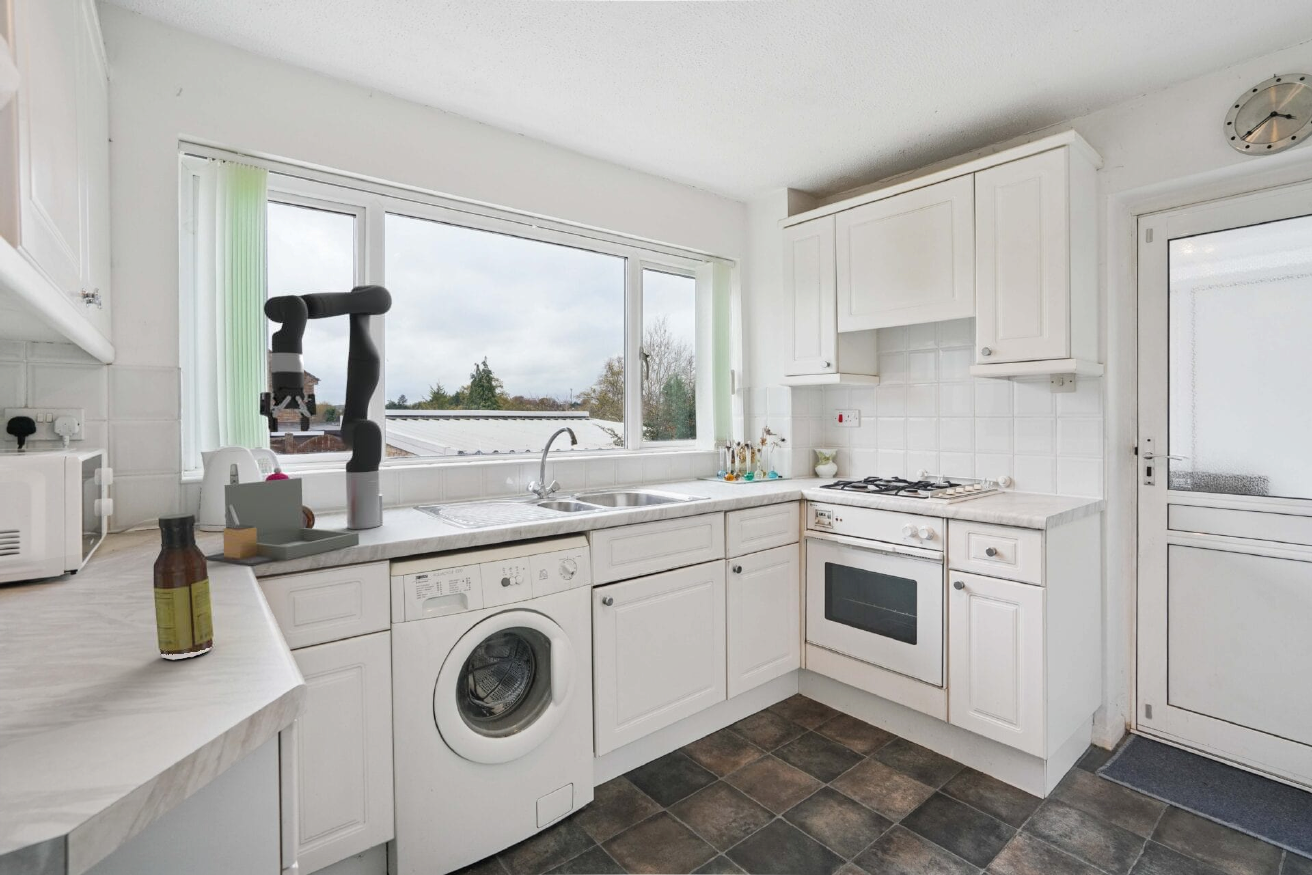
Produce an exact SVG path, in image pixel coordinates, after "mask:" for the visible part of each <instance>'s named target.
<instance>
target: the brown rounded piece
mask: <svg viewBox="0 0 1312 875" xmlns="http://www.w3.org/2000/svg"><path fill="white" fill-rule="evenodd" d="M302 507H303V528H311V529H314V526H315V523H316V517H315V515H314V512H313V511H312V510H311V509H310V508H309V507H308V506H306V505H302Z"/></svg>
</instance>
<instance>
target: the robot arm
mask: <svg viewBox="0 0 1312 875" xmlns="http://www.w3.org/2000/svg"><path fill="white" fill-rule="evenodd" d="M392 305H393V299H392V295H391V292H390V291H389V290H388V289H387V288H386V287H385V286H383V285H379V284H367V285H365V284H364V285H362V284H361V285H357V286H354V287H353V288H352V289H351V291H348V292H347V291H346V292H345V291H343V292H342V291H341V292H336V291H335V292H333V291H332V292H330V291H328V292H315V293H313V292H312V293H307V294H303V295H302V294H301V295H294V294H291V295H290V294H288V295H279V296H272V297H270V298H269V299H267V300H266V301H265V303H264V305H263V311H264V312H263V313H264V315H265V316H266V318H268V320H270V321H272V322H274V323H277V324H281V328H280V329H279V330H278V331H274V332H273V333H272V335H271V353H272V354H271V362H270V364H271V365H270V366H271V367H270V370H271V373H270V374H271V388H272V392H269V391H263V392H260V396H259V414H260V416H264V417H267V428H268V430H269V431H270V433H278V432H279V421H278V420H279V418H277V417H278V416H279V414H280V412H282V411H283V410H294V411H295V412H296V413H298V414H299V416H300V418H299V420H300V432H309V430H310V428H311V427H310V419H311V417H312V416H316V415H317V405H316V404H317V402H316V394H315V393H304V389H305V364H304V363H305V362H304V357H303V356H304V355H303V337H304V334H305V330H306V326H307V322H308V320H321V319H326V318H332V317H340V316H345V315H349V316H348V317H349V343H348V357H347V369H346V385H345V387H346V388H345V402H344V408H343V413H342V419H341V423H340V424H341V425H340V433H339V434H340V440H341V442H342V444H343V445H344V446H345V447H347V448H348V449H351V450H352V454H351V458H350V460H349V461H347V462H346V464H345V481H346V482H345V483H346V484H345V486H346V488H345V489H346V490H345V492H346V523H347V525H346V526H347V529H352V530H354V529H355V530H358V529H372V528H376V527H380V526H383V525H384V522H383V520H384V519H383V517H384V516H383V515H384V514H383V494H380V471H379V470H380V464H381V461H382V452H383V451H382V448H383V446H382V445H383V439H382V438H383V436H382V430H381V427H380V426H379V424H378V423H377V422H376V421H374V420H372V419H368V414H369V412H368V410H369V405H370V403H371V402H370V401H371V399H372V397H373V394H374V392H375V391H376V388H377V386H378V384H379V380H380V373H381V363H382V362H381V354H380V352H379V350H378V348H377V345H376V343H375V342H374V339H373V337H372V334H371V329H370V326H371V317H372V316H379V315H380V316H381V315H384V314H387V312H389V311H390V310H391V308H392ZM272 400H273V401H274V402H273V403H272V402H271V401H272ZM304 401H305V403H304ZM271 404H272V405H271Z"/></svg>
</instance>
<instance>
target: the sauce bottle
mask: <svg viewBox="0 0 1312 875" xmlns="http://www.w3.org/2000/svg"><path fill="white" fill-rule="evenodd" d="M196 521H197V520H196V516H195V514H194V513H187V512H185V513H174V514H167V515H163V516H160V517H158V527H159V529H160V536H161V538H160V539H161V544H160V547H161V550H160V552H159V554H158V556H157V558H156V559H155V562H154V563H153V567H152V568H153V595H154V608H155V610H154V611H155V621H156V630H157V632H156V633H157V644H158V645H157V646H158V650H159V651H160V655H161V654H166V655H167V654H168V655H169V654H172V655H173V654H184V653H190V652H198V651H200V650H205V649H206V648H210V647H211V646H212V645H213V644H214V641H213V637H214V628H213V627H214V626H213V614H212V613H213V612H212V601H211V591H210V590H211V589H210V577H209V576H208V575H209V574H208V563H207V559H206V557H205V554H204V553H203V552H202V550H201V549H200V548H199V546H198V545H197V544H196V542H197V540H196V538H195V537H196V534H195V524H196V523H197V522H196ZM212 647H213V646H212Z"/></svg>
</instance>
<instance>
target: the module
mask: <svg viewBox="0 0 1312 875" xmlns="http://www.w3.org/2000/svg"><path fill="white" fill-rule="evenodd" d="M222 529H223V531H222V533H223V536H222V537H223V553H224V558H230V559H237V560H242V559H247V558H252V557H257V531H256V527H254V526H250V525H233V526H227V527H226V526H225V527H224V528H222Z"/></svg>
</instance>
